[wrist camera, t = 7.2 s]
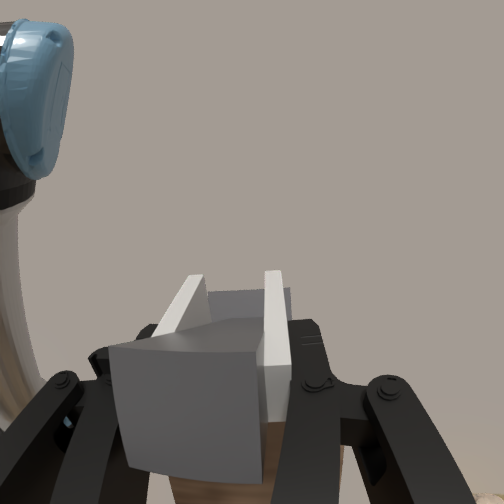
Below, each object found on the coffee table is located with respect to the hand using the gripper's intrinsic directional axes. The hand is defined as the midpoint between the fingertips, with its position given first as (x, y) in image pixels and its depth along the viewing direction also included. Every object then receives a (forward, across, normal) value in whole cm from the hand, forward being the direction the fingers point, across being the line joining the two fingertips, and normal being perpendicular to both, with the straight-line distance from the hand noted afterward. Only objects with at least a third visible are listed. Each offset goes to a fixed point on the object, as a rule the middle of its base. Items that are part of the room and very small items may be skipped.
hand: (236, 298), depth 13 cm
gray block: (-1, 0, -5) cm, 5 cm away
